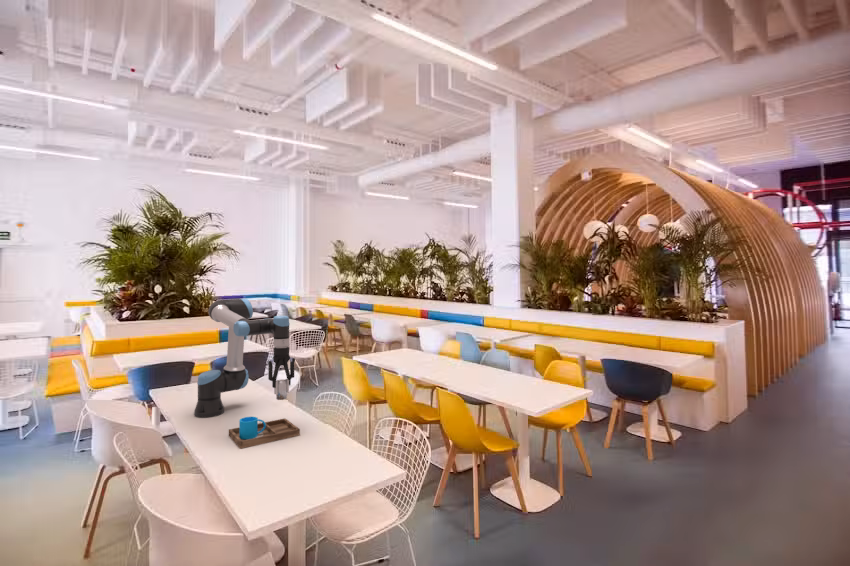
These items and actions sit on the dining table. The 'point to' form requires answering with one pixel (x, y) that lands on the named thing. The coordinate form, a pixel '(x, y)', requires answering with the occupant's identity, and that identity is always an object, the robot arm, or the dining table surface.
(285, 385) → the clear rounded cylinder
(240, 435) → the mug
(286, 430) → the tray
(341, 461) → the dining table surface
